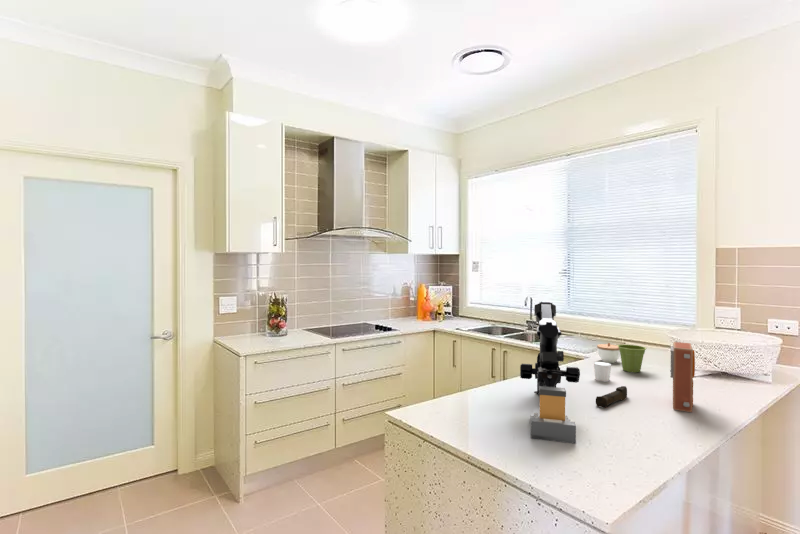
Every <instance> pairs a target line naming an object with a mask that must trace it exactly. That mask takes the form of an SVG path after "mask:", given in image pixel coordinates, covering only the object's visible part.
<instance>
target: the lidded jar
mask: <svg viewBox="0 0 800 534" xmlns="http://www.w3.org/2000/svg"><path fill="white" fill-rule="evenodd" d="M596 345H597V356H598V357H599V359H600V360H601V362H606V363H610V364H613V363H614V364H615V363H616V362H617V361H618V360H619V359H620V358H621V355H620V351H619V347H618V345H617V344H611V343H610V342H607V343H602V344H601V343H600V344H596Z"/></svg>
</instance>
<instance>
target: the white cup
mask: <svg viewBox="0 0 800 534" xmlns="http://www.w3.org/2000/svg"><path fill="white" fill-rule="evenodd" d="M593 369H594V379H595V380H596V381H598V382H609V381H610V379H611V370H612V363H608V362H603V361H594V362H593Z"/></svg>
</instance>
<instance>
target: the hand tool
mask: <svg viewBox="0 0 800 534" xmlns="http://www.w3.org/2000/svg"><path fill="white" fill-rule="evenodd" d="M627 397H628V388H627V386H626V385H625V386H623V385H621V386H619V387H616V388H615V390H614V391H612V392H609V393H607V394H603V395H601V396H596V397H595V405H596V406H597V407H599V408H602V409H603V408H607V407H608V406H609V405H611V404H614V403H617V402H618V401H625V400H626V399H627Z"/></svg>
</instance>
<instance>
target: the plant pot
mask: <svg viewBox="0 0 800 534" xmlns="http://www.w3.org/2000/svg"><path fill="white" fill-rule="evenodd" d="M617 346H618V347H619V351H620V361H621V368H622V370H623V371H624V372H625V371H626V372H628V373H641V370H642V364H643V360H644V355H645V352H646V351H647V347H645V346H640V345H638V344H637V345H634V344H618V345H617Z"/></svg>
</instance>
